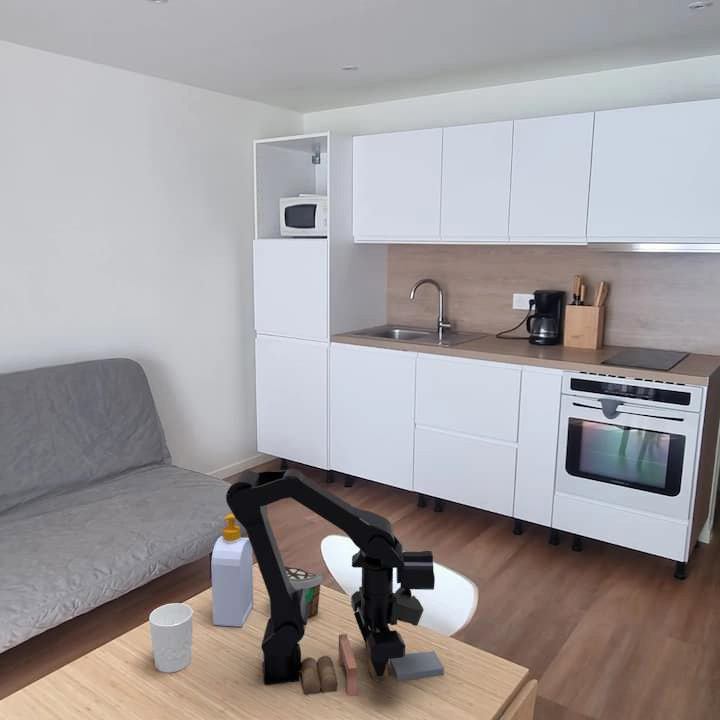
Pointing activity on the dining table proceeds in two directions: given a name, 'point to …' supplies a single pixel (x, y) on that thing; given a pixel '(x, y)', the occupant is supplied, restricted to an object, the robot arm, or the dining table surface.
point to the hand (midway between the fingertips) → (375, 664)
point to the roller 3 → (374, 669)
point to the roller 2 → (327, 674)
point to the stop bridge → (348, 664)
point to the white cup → (171, 636)
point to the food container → (306, 586)
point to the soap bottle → (232, 577)
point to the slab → (416, 666)
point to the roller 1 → (310, 676)
